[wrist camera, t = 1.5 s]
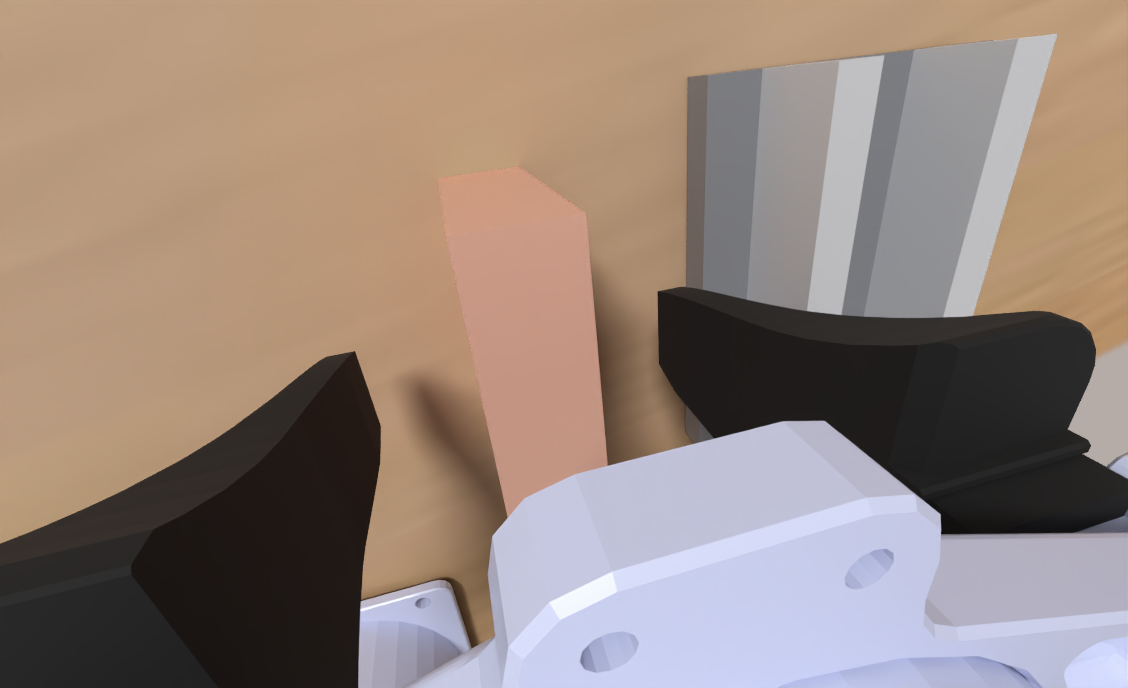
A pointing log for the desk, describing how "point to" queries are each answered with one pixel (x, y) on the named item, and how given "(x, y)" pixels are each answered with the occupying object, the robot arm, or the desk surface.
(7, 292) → the desk surface
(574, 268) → the tall salmon pink block
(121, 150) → the desk surface
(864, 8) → the desk surface
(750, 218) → the grey slotted holder
